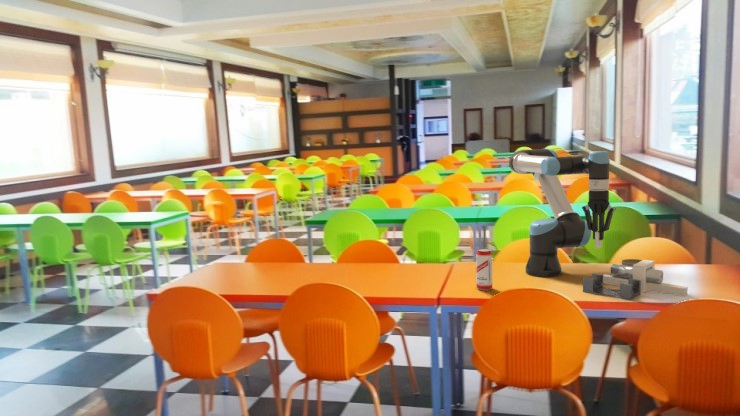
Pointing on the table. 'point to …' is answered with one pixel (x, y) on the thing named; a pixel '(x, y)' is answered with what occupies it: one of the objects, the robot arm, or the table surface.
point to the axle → (627, 272)
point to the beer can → (484, 269)
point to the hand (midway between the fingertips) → (598, 247)
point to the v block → (625, 291)
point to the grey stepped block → (640, 274)
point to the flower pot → (630, 262)
